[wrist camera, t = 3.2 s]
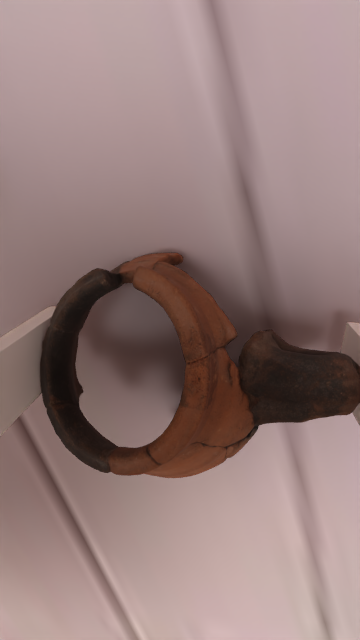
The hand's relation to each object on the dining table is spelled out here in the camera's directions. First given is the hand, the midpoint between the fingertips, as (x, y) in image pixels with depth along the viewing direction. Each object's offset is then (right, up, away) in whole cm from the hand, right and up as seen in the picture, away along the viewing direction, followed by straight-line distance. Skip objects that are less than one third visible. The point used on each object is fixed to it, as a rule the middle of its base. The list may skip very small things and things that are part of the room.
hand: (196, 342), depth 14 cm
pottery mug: (0, 0, +2) cm, 2 cm away
